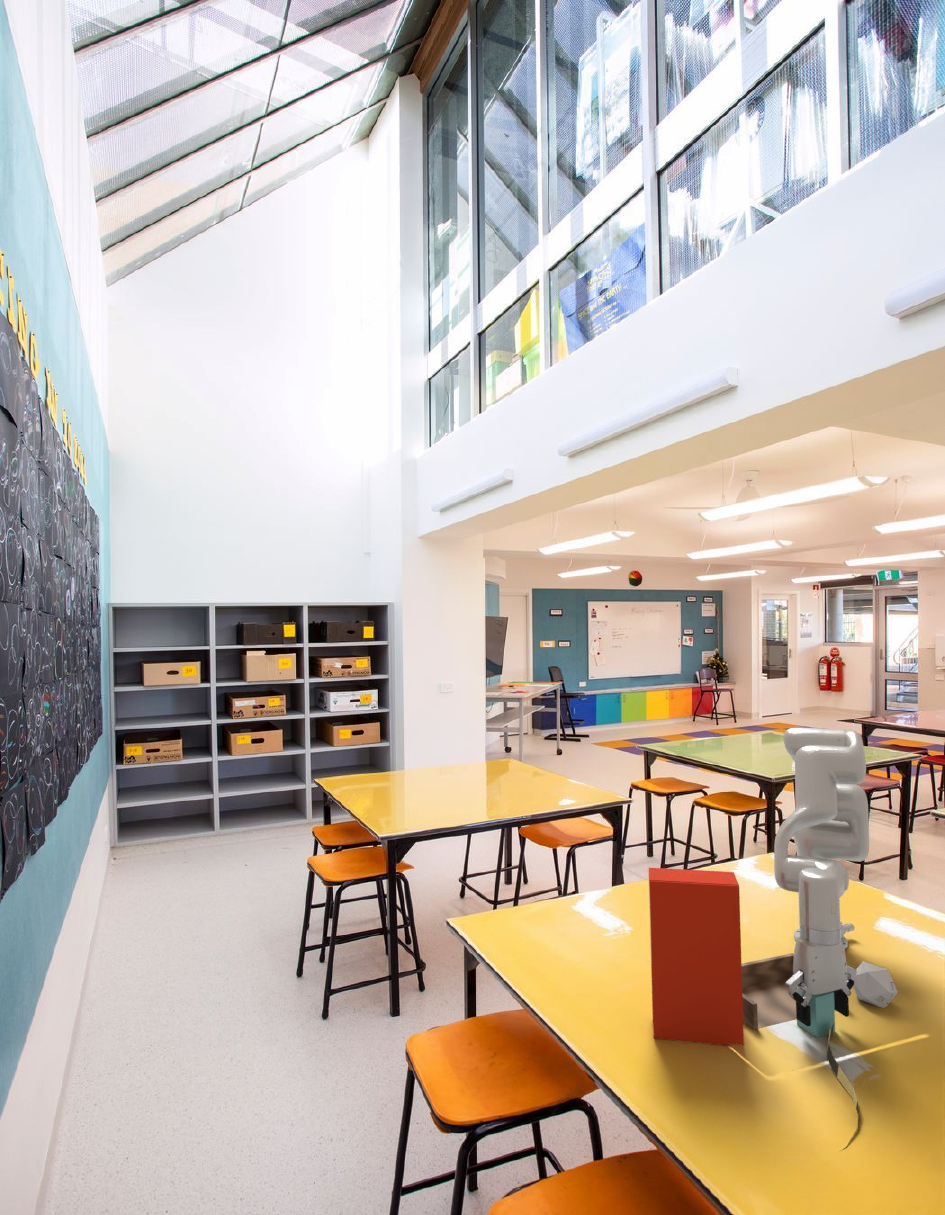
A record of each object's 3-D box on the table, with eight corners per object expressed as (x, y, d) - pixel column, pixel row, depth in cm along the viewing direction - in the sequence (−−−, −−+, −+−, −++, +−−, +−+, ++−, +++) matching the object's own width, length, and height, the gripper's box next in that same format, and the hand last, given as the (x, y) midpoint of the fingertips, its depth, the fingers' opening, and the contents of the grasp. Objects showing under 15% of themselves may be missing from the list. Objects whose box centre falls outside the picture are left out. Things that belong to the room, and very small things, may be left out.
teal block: (815, 1019, 148) (813, 981, 148) (835, 1032, 143) (834, 992, 143) (797, 1025, 146) (795, 986, 146) (816, 1038, 141) (815, 997, 141)
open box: (793, 977, 166) (792, 953, 166) (845, 1009, 152) (844, 983, 152) (707, 996, 159) (707, 970, 159) (754, 1032, 144) (753, 1004, 144)
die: (868, 1018, 150) (898, 986, 148) (835, 982, 156) (863, 951, 155) (882, 1018, 154) (912, 987, 153) (850, 984, 161) (877, 953, 159)
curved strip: (862, 1049, 139) (862, 1029, 139) (856, 1184, 106) (856, 1159, 106) (828, 1039, 142) (828, 1020, 142) (811, 1168, 109) (812, 1143, 109)
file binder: (744, 1049, 139) (739, 885, 140) (653, 1039, 143) (649, 880, 143) (737, 1026, 147) (733, 871, 147) (652, 1017, 150) (648, 866, 151)
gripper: (838, 918, 149) (841, 1000, 149) (772, 931, 144) (774, 1016, 143) (868, 933, 142) (871, 1019, 142) (799, 947, 137) (802, 1037, 136)
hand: (822, 1017), depth 143 cm, fingers open, 9 cm apart
